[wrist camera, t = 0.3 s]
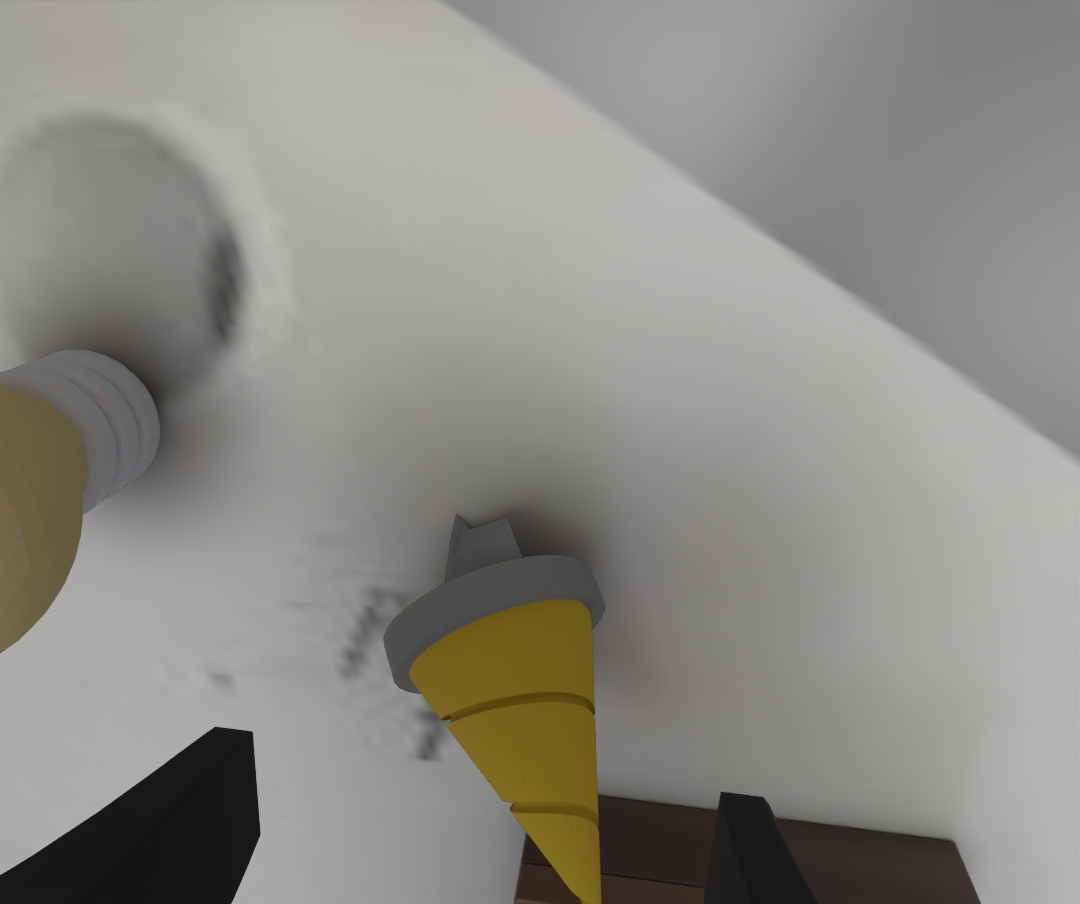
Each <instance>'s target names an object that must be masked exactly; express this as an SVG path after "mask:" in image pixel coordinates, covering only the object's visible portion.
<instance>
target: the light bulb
mask: <svg viewBox="0 0 1080 904" xmlns="http://www.w3.org/2000/svg"><path fill="white" fill-rule="evenodd" d="M159 444H160V422H159V417H158V412H157V409H156V406H155V403H154V401H153V399H152V397H151V395H150V393H149V392H148V390H147V389H146V387H145V385H144V384H143V383H142V382H141V381H140V380H139V379H138V378H137V376H135V375H134V374H133V373H132V372H131V371H130V370H128V369H127V368H126V367H125V366H124V365H123V364H121V363H119V362H117V361H116V360H114V359H112V358H110V357H108V356H106V355H103V354H100V353H97V352H93V351H90V350H76V349H70V350H63V351H59V352H56V353H53V354H50V355H47V356H45V357H42V358H40V359H38V360H35V361H32V362H28V363H25V364H22V365H20V366H17V367H15V368H13V369H11V370H7V371H4V372H1V373H0V653H1V652H3V651H4V650H6V649H7V648H8V647H10V646H11V645H13V644H14V643H16V642H17V641H18V640H19V639H20V638H21V637H22V636H24V635H25V634H26V633H27V632H28V631H29V630H30V629H31V628H32V627H33V626H34V625H35V624H36V622H37V621H38V620H39V619H40V618H41V617H42V616H43V615H44V614H45V613H46V611H47V610H48V608H49V607H50V605H51V604H52V603H53V601H54V600H55V598H56V597H57V595H58V593H59V592H60V590H61V589H62V587H63V585H64V584H65V582H66V579H67V577H68V575H69V572H70V570H71V568H72V565H73V563H74V560H75V557H76V553H77V549H78V545H79V541H80V537H81V527H82V516H83V514H84V513H86V512H88V511H89V510H91V509H92V508H94V507H95V506H96V505H97V504H98V503H99V502H101V501H103V500H105V499H106V498H108V497H110V496H111V495H113V494H115V493H116V492H117V491H118V490H119V489H120V488H122V487H124V486H126V485H128V484H129V483H131V482H132V481H134V480H135V479H136V478H138V477H139V476H141V475H142V474H143V473H144V472H145V471H146V470H147V469H148V468H149V466H150V465H151V463H152V462H153V460H154V457H155V455H156V452H157V449H158V446H159Z"/></svg>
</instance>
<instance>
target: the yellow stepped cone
mask: <svg viewBox="0 0 1080 904" xmlns="http://www.w3.org/2000/svg"><path fill="white" fill-rule="evenodd" d="M604 611H605V603H604V600H603V598H602V596H601V593H600V591H599V589H598V586H597V584H596V582H595V579H594V577H593V575H592V572H591V570H590V568H589V567H588V565H587V564H586V563H585V562H584V561H582V560H580V559H578V558H575V557H571V556H567V555H538V556H529V557H524V558H523V557H522V554H521V552H520V549H519V546H518V544H517V541H516V539H515V536H514V534H513V532H512V529H511V527H510V524H509V522H508V519H507V517H506V518H503V519H500V520H497V521H494V522H491V523H488V524H485V525H482V526H479V527H476V528H473V529H470V528H469V527H468V526H467V525H466V524H465V522H464V521H463V520H462V519H461V518H460V517H459V516H458V515H457V514H456V517H455V522H454V526H453V531H452V535H451V539H450V545H449V553H448V562H447V570H446V578H445V584H443V585H441V586H439V587H437V588H436V589H434V590H432V591H430V592H429V593H427V594H425V595H423V596H422V597H420V598H419V599H418V600H416V601H415V602H413V603H412V604H410V605H409V606H408V607H406V608H405V609H404V610H403V611H402V612H401V613H400V614H399V615H398V616H396V617H395V619H394V620H393V621H392V622H391V624H390V625H389V626H388V628H387V630H386V632H385V635H384V646H385V650H386V653H387V657H388V661H389V664H390V668H391V671H392V675H393V679H394V682H395V684H396V685H397V686H398V687H399V688H400V689H403V690H405V691H407V692H413V693H419V694H422V695H423V696H424V698H425V699H426V700H427V701H428V703H429V704H430V705H431V707H432V708H433V709H434V711H435V712H436V713H437V715H438V716H439V717H440V719H441V720H449V719H451V722H450V723H449V724H448V725H446V726H447V728H448V729H449V730H450V732H451V733H452V734H453V736H454V737H455V738H456V740H457V741H458V742H459V744H460V745H461V746H462V748H463V749H464V750H465V752H466V753H467V754H468V755H469V757H470V758H471V759H472V761H473V762H474V763H475V765H476V766H477V767H478V769H479V770H480V771H481V773H482V774H483V775H484V777H485V778H486V779H487V781H488V782H489V783H490V784H491V786H492V787H493V788H494V790H495V791H496V792H497V794H498V795H499V796H500V798H501V799H502V800H503V801H504V802H514V803H513V804H512V805H511V807H510V811H511V812H512V813H513V815H514V816H515V817H516V819H517V820H518V821H519V823H520V824H521V825H522V827H523V828H524V829H525V831H526V832H527V833H528V835H529V836H530V837H531V839H532V840H533V841H534V842H535V844H536V845H537V846H538V848H539V849H540V850H541V852H542V853H543V854H544V856H545V857H546V858H547V860H548V861H549V862H550V864H551V865H552V866H553V867H554V869H555V870H556V871H557V873H558V874H559V875H560V877H561V878H562V879H563V881H564V882H565V883H566V885H567V886H568V887H569V889H570V890H571V891H572V892H573V893H574V894H575V895H576V896H578V897H579V898H580V900H581V903H582V904H601V875H600V846H599V831H598V823H599V818H598V790H597V761H596V732H595V718H594V715H595V704H594V675H593V647H592V629H593V628H594V627H595V625H596V624H597V623H598V622H599V620H600V619H601V618H602V615H603V613H604Z"/></svg>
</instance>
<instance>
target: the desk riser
mask: <svg viewBox="0 0 1080 904" xmlns="http://www.w3.org/2000/svg"><path fill="white" fill-rule="evenodd" d="M717 813H718V812H717V811H709V810H701V809H693V808H686V807H678V806H670V805H662V804H655V803H647V802H639V801H632V800H624V799H616V798H608V797H601V796H598V818H599V823H598V831H599V846H600V875H601V904H704V893H705V886H706V880H707V874H708V868H709V862H710V856H711V850H712V843H713V837H714V831H715V825H716V819H717ZM776 821H777V823H778V825H779V827H780V829H781V831H782V833H783V835H784V837H785V839H786V841H787V843H788V845H789V847H790V849H791V851H792V853H793V855H794V857H795V858H796V860H797V862H798V864H799V866H800V868H801V870H802V872H803V873H804V875H805V877H806V879H807V881H808V882H809V884H810V886H811V888H812V890H813V891H814V893H815V895H816V897H817V898H818V900H819V902H820V903H821V904H981V902H980V900H979V898H978V895H977V893H976V891H975V889H974V886H973V884H972V882H971V879H970V877H969V875H968V872H967V870H966V868H965V865H964V863H963V861H962V858H961V856H960V854H959V851H958V849H957V847H956V844H955V843H953V842H948V841H941V840H933V839H925V838H918V837H910V836H902V835H894V834H887V833H879V832H871V831H863V830H856V829H848V828H840V827H833V826H825V825H817V824H809V823H802V822H794V821H786V820H778V819H776ZM514 904H582V903H581V900H580V898H579V897H578V896H576V895H575V894H574V893H573V892H572V891H571V890H570V889H569V887H568V886H567V885H566V883H565V882H564V881H563V879H562V878H561V877H560V875H559V874H558V873H557V871H556V870H555V869H554V867H553V866H552V865H551V864H550V862H549V861H548V860H547V858H546V857H545V856H544V854H543V853H542V852H541V850H540V849H539V848H538V846H537V845H536V844H535V842H534V841H533V840H532V839H531V837H530V836H529V835H528V833H527V832H526V836H525V841H524V847H523V853H522V858H521V866H520V870H519V875H518V881H517V886H516V892H515V898H514Z"/></svg>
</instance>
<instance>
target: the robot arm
mask: <svg viewBox="0 0 1080 904" xmlns="http://www.w3.org/2000/svg"><path fill="white" fill-rule="evenodd" d="M259 837H260V822H259V809H258V796H257V783H256V770H255V756H254V743H253V732H252V731H244V730H237V729H229V728H221V727H214V728H213V729H211V730H210V731H209V732H207V733H206V734H204V735H203V736H202V737H200V738H199V739H197V740H196V741H195V742H193V743H192V744H191V745H189V746H188V747H187V748H185V749H184V750H183V751H181V752H180V753H178V754H177V755H176V756H174V757H173V758H172V759H170V760H169V761H168V762H166V763H165V764H164V765H162V766H161V767H160V768H158V769H157V770H156V771H154V772H153V773H152V774H150V775H149V776H147V777H146V778H145V779H143V780H142V781H141V782H139V783H138V784H136V785H135V786H134V787H132V788H131V789H129V790H128V791H127V792H125V793H124V794H123V795H121V796H120V797H118V798H117V799H116V800H114V801H113V802H111V803H110V804H109V805H107V806H106V807H104V808H103V809H102V810H100V811H99V812H97V813H96V814H95V815H93V816H91V817H90V818H88V819H87V820H85V821H84V822H82V823H81V824H79V825H78V826H76V827H75V828H73V829H72V830H70V831H69V832H67V833H66V834H64V835H63V836H61V837H60V838H58V839H57V840H55V841H54V842H52V843H51V844H49V845H48V846H46V847H45V848H43V849H42V850H40V851H39V852H37V853H36V854H34V855H33V856H31V857H29V858H28V859H26V860H24V861H23V862H21V863H20V864H18V865H16V866H15V867H13V868H11V869H10V870H8V871H6V872H5V873H3V874H1V875H0V904H231V903H232V901H233V899H234V897H235V894H236V892H237V890H238V887H239V885H240V883H241V881H242V878H243V876H244V874H245V871H246V869H247V866H248V864H249V862H250V859H251V857H252V854H253V852H254V849H255V847H256V844H257V842H258V839H259ZM704 904H821V903H820V902H819V900H818V898H817V897H816V895H815V893H814V891H813V890H812V888H811V886H810V884H809V882H808V881H807V879H806V877H805V875H804V873H803V872H802V870H801V868H800V866H799V864H798V862H797V860H796V858H795V857H794V855H793V853H792V851H791V849H790V847H789V845H788V843H787V841H786V839H785V837H784V835H783V833H782V831H781V829H780V827H779V825H778V823H777V821H776V819H775V816H774V814H773V812H772V810H771V808H770V805H769V804H768V803H767V801H766V800H765V799H764V798H763V797H758V796H750V795H743V794H735V793H727V792H721V794H720V800H719V806H718V813H717V819H716V825H715V831H714V837H713V843H712V850H711V856H710V862H709V868H708V874H707V880H706V886H705V893H704Z"/></svg>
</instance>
